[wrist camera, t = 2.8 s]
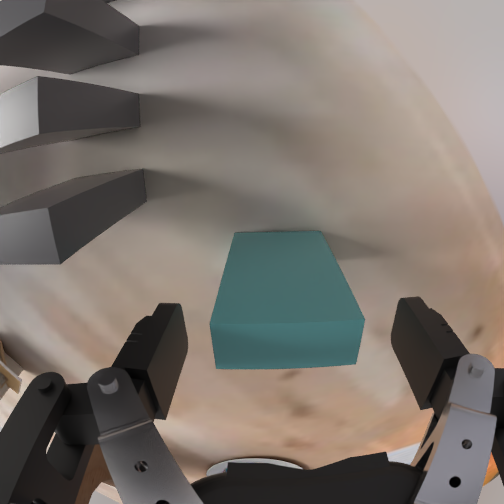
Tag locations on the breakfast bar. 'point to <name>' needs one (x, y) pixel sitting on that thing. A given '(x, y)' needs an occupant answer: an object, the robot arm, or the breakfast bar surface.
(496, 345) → the breakfast bar surface
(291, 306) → the domino
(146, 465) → the robot arm
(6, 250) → the domino
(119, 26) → the domino
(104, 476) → the wooden block
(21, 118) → the domino
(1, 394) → the architectural model
